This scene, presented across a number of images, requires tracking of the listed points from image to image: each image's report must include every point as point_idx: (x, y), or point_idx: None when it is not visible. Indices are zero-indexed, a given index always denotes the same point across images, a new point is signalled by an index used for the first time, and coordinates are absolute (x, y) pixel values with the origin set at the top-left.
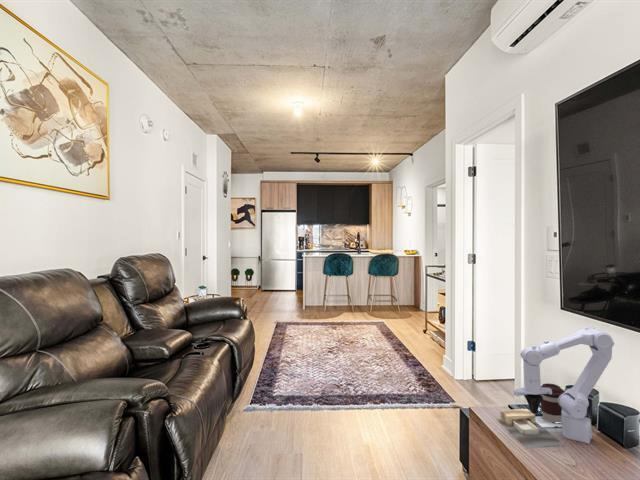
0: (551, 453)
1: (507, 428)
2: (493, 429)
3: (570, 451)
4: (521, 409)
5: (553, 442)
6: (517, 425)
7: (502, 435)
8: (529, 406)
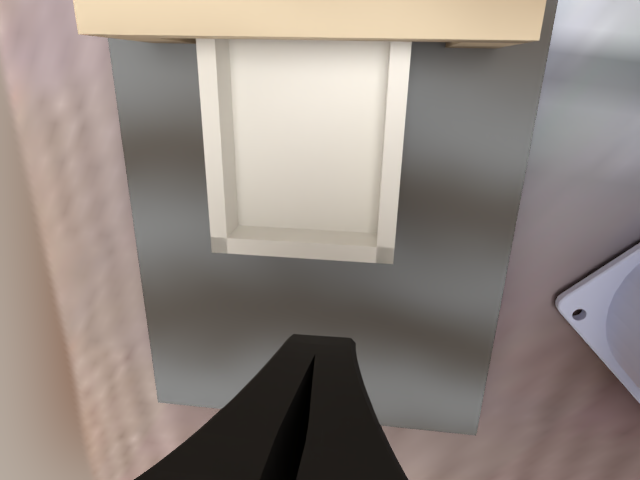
0: None
1: (131, 83)
2: (9, 41)
3: (469, 456)
4: None
5: (417, 378)
6: (205, 138)
7: (63, 169)
8: (250, 390)
